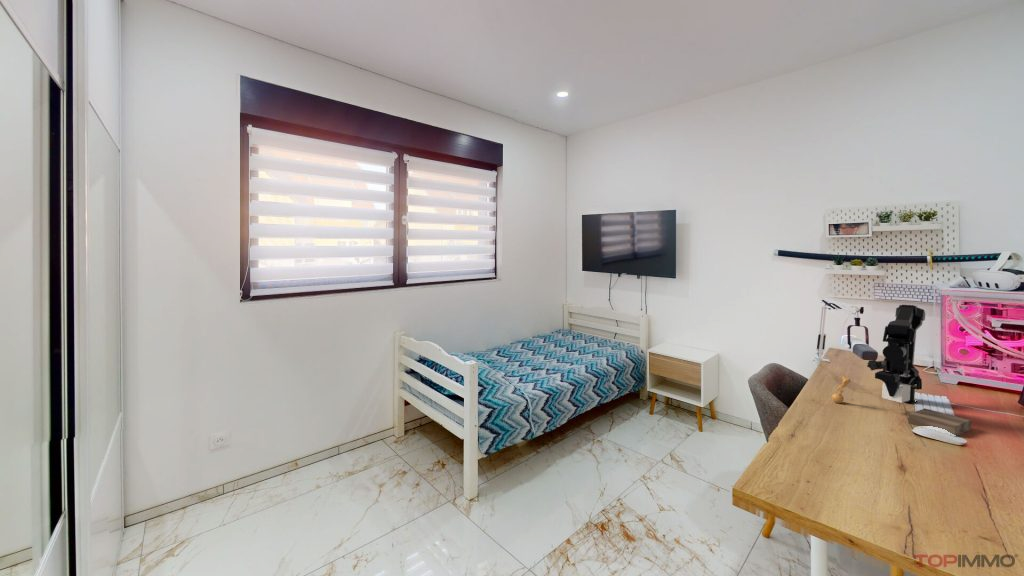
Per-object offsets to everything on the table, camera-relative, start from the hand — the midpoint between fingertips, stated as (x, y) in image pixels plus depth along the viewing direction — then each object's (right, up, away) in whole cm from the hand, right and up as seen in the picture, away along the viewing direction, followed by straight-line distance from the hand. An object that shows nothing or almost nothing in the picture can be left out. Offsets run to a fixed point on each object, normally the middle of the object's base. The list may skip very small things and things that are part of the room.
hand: (895, 395), depth 153 cm
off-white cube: (0, -2, 0) cm, 2 cm away
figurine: (-12, -7, +12) cm, 18 cm away
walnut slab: (+4, -8, -12) cm, 15 cm away
